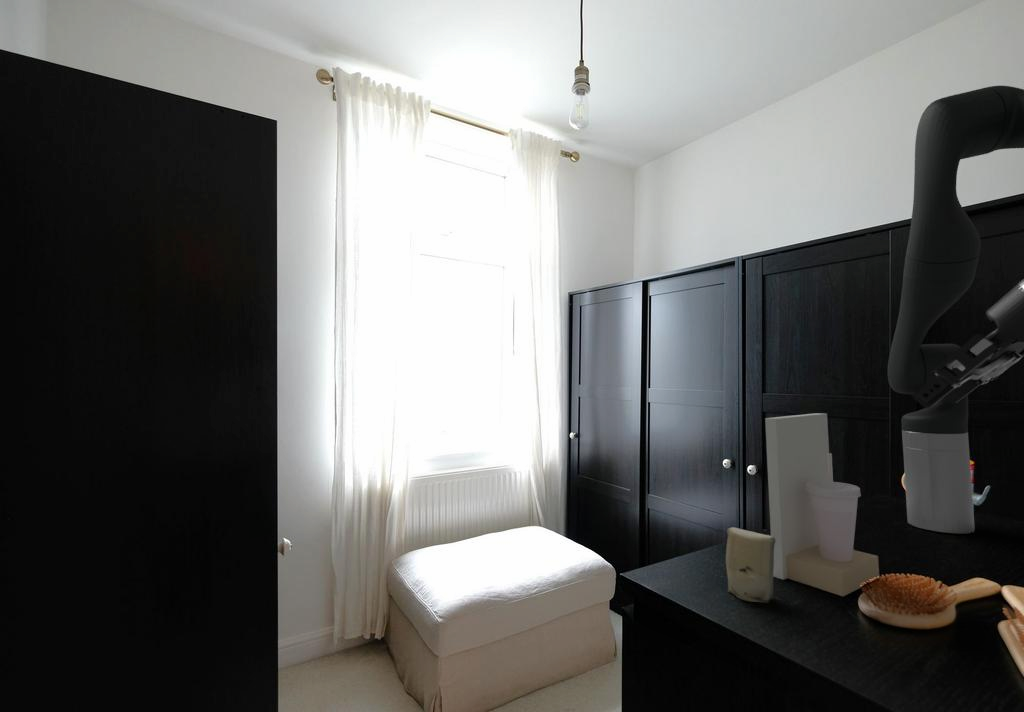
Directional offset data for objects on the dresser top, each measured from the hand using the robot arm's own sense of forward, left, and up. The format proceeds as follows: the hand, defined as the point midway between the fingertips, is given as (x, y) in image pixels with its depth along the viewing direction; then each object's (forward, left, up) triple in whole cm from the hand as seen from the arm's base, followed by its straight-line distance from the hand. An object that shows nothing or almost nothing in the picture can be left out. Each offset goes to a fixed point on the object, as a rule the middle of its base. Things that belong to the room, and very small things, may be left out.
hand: (933, 400), depth 64 cm
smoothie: (+7, -10, -22) cm, 25 cm away
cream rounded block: (+21, -13, -25) cm, 35 cm away
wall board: (+6, -11, -24) cm, 27 cm away
